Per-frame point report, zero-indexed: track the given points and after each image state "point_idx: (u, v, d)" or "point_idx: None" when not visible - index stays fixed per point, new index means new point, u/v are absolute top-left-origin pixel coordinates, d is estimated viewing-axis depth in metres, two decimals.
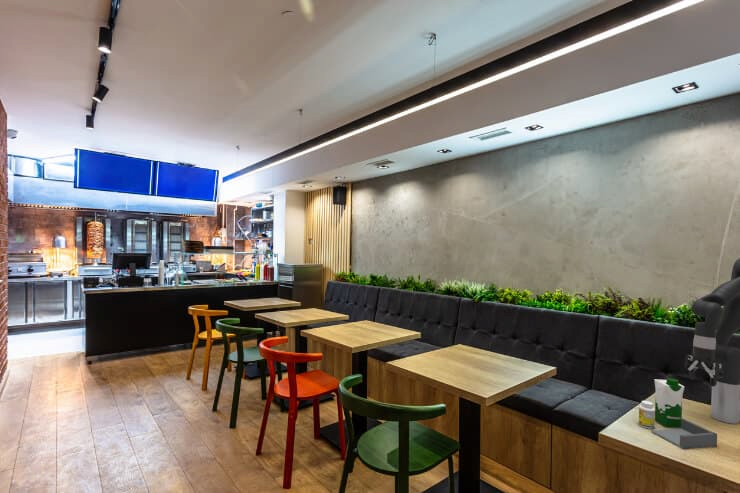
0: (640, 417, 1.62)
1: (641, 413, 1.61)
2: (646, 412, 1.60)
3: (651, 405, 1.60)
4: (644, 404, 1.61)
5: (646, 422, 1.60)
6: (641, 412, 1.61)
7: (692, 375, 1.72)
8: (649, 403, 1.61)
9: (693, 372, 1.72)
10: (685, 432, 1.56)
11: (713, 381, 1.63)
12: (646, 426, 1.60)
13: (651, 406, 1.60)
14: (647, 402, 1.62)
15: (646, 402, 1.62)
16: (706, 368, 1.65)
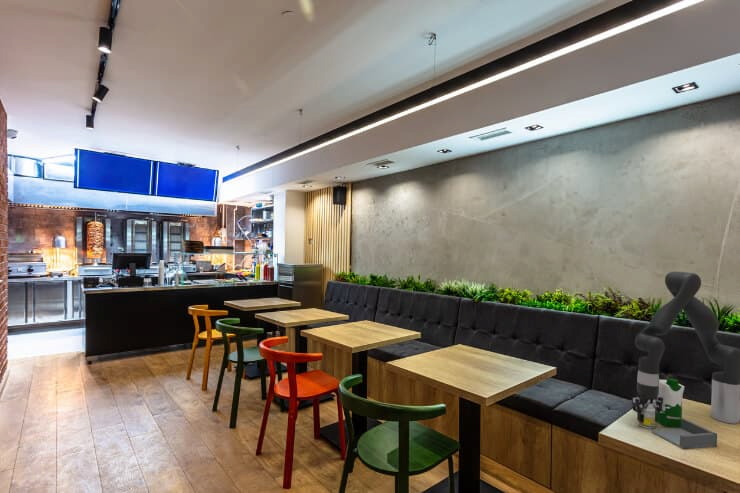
0: None
1: None
2: (646, 412, 1.60)
3: (651, 405, 1.60)
4: None
5: (646, 422, 1.60)
6: None
7: None
8: None
9: None
10: (685, 432, 1.56)
11: (655, 416, 1.62)
12: (646, 426, 1.60)
13: (651, 406, 1.60)
14: None
15: None
16: (655, 405, 1.61)
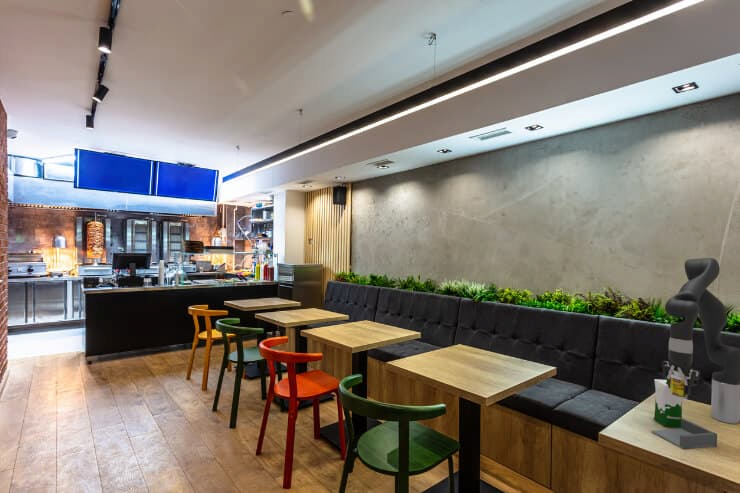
0: None
1: None
2: None
3: None
4: None
5: None
6: None
7: None
8: None
9: None
10: (685, 432, 1.56)
11: None
12: (687, 396, 1.51)
13: None
14: None
15: None
16: None
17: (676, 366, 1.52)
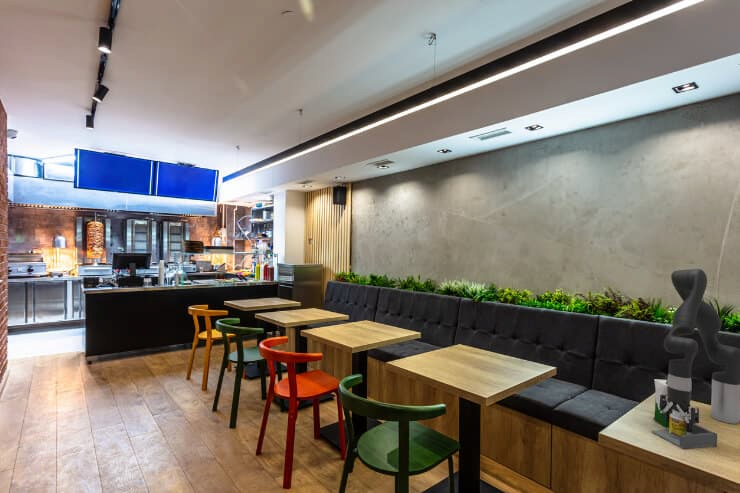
0: (683, 430, 1.49)
1: (685, 425, 1.49)
2: None
3: None
4: None
5: (686, 432, 1.50)
6: (685, 423, 1.49)
7: None
8: None
9: None
10: None
11: None
12: None
13: None
14: None
15: None
16: None
17: (675, 403, 1.52)
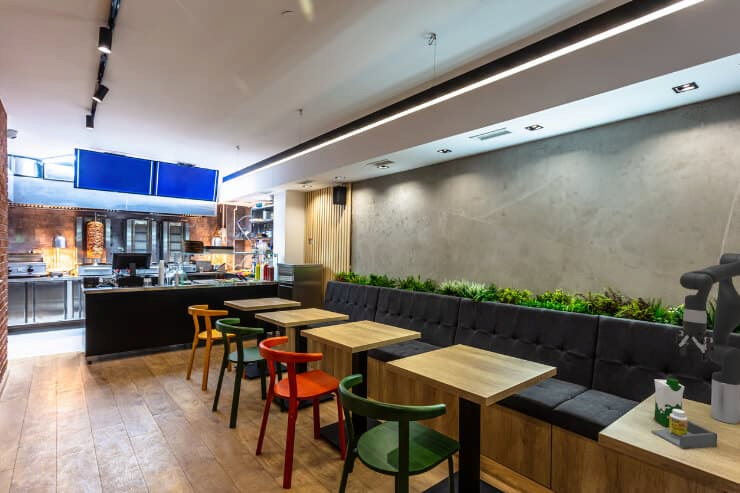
0: (683, 430, 1.49)
1: (685, 425, 1.49)
2: None
3: None
4: (684, 414, 1.50)
5: (686, 432, 1.50)
6: (685, 423, 1.49)
7: None
8: (680, 410, 1.52)
9: None
10: None
11: None
12: None
13: None
14: (678, 410, 1.52)
15: (679, 411, 1.52)
16: None
17: (690, 336, 1.60)
